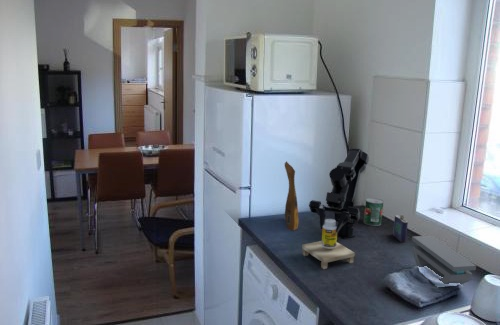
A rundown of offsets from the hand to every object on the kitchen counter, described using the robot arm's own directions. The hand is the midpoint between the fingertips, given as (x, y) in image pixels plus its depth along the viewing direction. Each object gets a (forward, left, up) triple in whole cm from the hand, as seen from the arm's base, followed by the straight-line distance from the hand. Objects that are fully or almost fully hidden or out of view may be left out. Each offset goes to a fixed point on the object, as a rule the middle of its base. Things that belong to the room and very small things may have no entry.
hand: (328, 230), depth 167 cm
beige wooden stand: (-1, +1, -12) cm, 12 cm away
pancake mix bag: (-37, +7, -12) cm, 39 cm away
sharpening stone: (+28, +27, -12) cm, 41 cm away
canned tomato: (-24, +44, -12) cm, 51 cm away
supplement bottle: (-1, +1, -7) cm, 7 cm away
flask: (-5, +42, -12) cm, 44 cm away
